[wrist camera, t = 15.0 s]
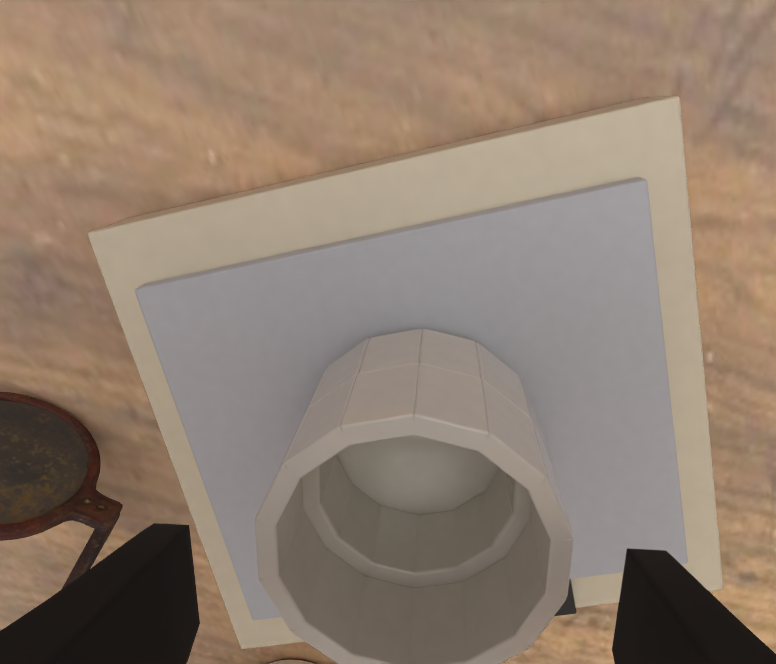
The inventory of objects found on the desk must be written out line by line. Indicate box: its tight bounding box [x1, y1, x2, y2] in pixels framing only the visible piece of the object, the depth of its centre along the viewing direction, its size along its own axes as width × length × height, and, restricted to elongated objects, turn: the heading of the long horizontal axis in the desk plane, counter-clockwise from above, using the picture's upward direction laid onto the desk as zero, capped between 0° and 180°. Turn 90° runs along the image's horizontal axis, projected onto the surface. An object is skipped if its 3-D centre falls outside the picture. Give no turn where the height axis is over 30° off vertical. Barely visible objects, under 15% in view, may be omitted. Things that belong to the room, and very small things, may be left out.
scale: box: [88, 96, 723, 649], centre depth 18 cm, size 14×13×3 cm
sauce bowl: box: [255, 329, 574, 664], centre depth 14 cm, size 6×6×5 cm
